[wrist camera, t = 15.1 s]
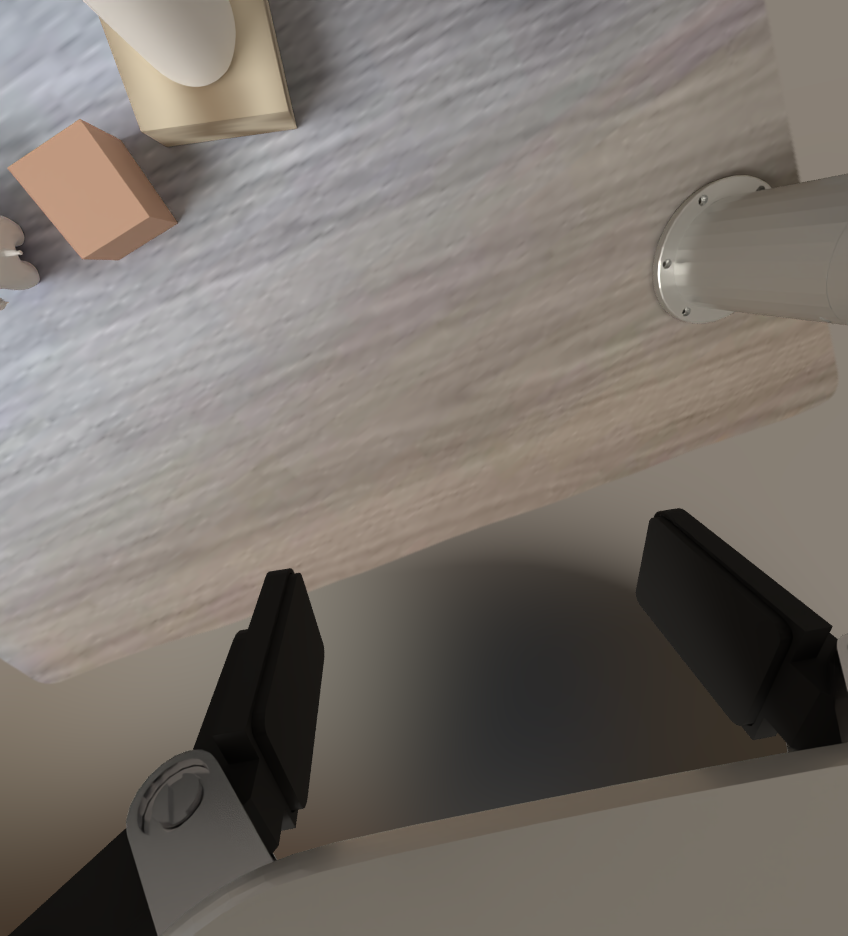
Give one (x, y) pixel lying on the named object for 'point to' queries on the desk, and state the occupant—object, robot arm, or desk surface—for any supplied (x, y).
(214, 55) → the can
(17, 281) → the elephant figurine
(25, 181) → the terracotta block
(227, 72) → the birch block
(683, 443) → the desk surface
